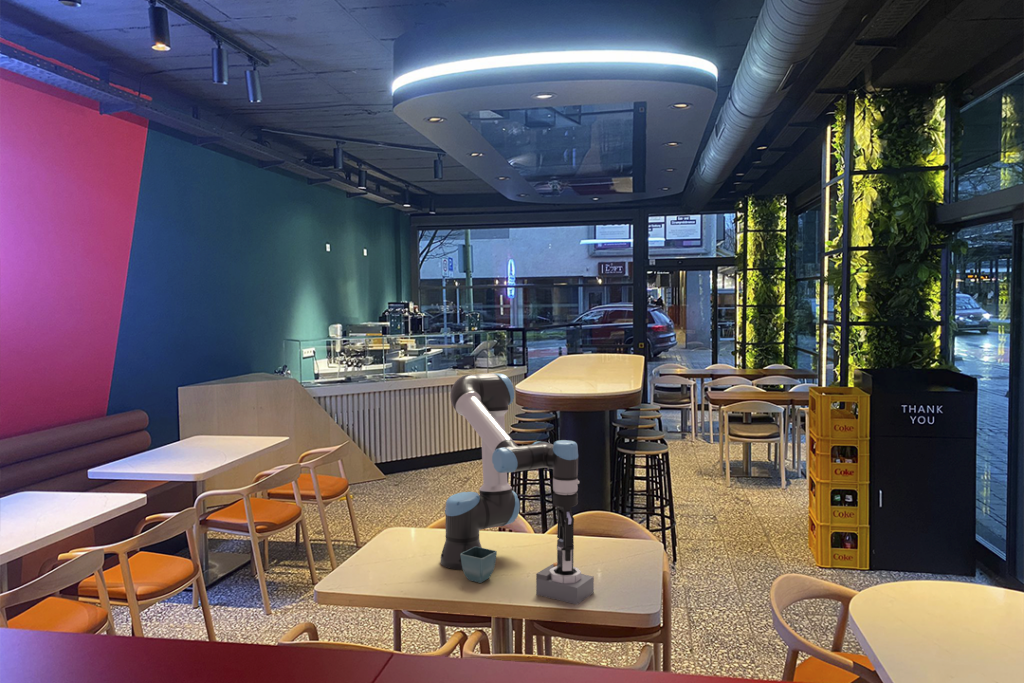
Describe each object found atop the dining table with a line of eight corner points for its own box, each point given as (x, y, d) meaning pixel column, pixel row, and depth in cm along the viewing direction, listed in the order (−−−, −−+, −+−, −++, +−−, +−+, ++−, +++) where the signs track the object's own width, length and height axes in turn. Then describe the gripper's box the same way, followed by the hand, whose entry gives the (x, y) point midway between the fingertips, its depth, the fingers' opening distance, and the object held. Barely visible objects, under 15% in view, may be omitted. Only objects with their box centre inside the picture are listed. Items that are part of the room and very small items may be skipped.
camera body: (536, 594, 217) (536, 570, 217) (554, 583, 227) (554, 560, 226) (576, 604, 210) (577, 580, 209) (593, 592, 219) (593, 569, 219)
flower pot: (482, 586, 224) (482, 558, 223) (459, 581, 228) (459, 553, 228) (497, 578, 231) (497, 550, 231) (475, 572, 236) (475, 546, 235)
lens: (558, 576, 215) (558, 542, 215) (555, 570, 220) (555, 537, 220) (575, 575, 216) (575, 542, 215) (571, 569, 221) (572, 536, 220)
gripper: (584, 499, 208) (583, 577, 209) (571, 484, 227) (570, 556, 227) (559, 499, 208) (558, 578, 208) (548, 485, 226) (547, 557, 226)
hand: (565, 566), depth 218 cm, fingers closed on lens, 5 cm apart
